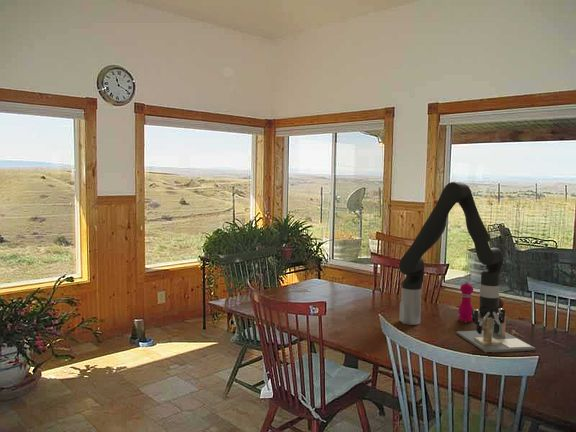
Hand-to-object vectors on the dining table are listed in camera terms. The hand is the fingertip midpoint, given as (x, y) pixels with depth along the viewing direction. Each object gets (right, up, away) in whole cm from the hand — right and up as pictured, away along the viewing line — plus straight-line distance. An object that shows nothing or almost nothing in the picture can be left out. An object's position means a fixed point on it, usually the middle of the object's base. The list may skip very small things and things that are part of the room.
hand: (487, 333), depth 202 cm
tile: (+10, -3, +11) cm, 15 cm away
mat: (+4, -5, +4) cm, 8 cm away
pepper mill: (+4, -2, +35) cm, 36 cm away
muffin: (+21, -2, +46) cm, 51 cm away
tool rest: (+10, -4, -1) cm, 11 cm away
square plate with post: (0, -4, 0) cm, 4 cm away
